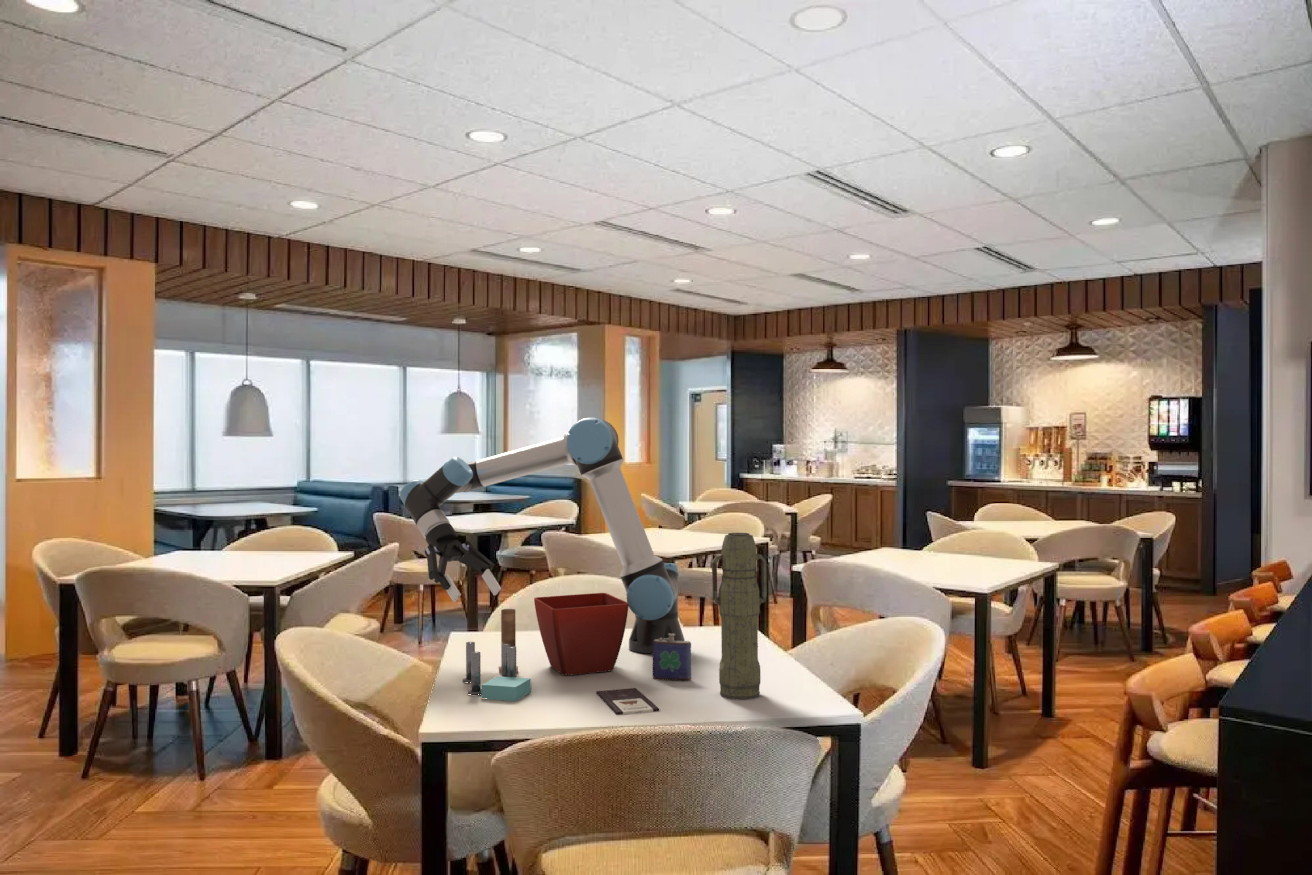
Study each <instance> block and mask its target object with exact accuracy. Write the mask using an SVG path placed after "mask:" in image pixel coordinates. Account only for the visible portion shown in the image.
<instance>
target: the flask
mask: <svg viewBox="0 0 1312 875" xmlns="http://www.w3.org/2000/svg"><path fill="white" fill-rule="evenodd" d="M668 635H669V637H668V638H663V639H665V640H663V639H662V638H660V639H656V640H654V641H653V653H652V679H653V680H656V681H657V680H658V681H672V682H674V681H675V682H690V681H691V680H692V653H691V652H692V642H691V641H690V640H685V641H674V636H675V634H673V633H672V634H671V633H670V634H668Z"/></svg>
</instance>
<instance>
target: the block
mask: <svg viewBox="0 0 1312 875" xmlns="http://www.w3.org/2000/svg"><path fill="white" fill-rule="evenodd" d="M531 684H532V679H531V678H530V677H529V678H528V677H517V676H516V677H502V675H501V676H500V675H499V676H498V675H497V676H495V677H494V678H493V677H492V678H491V679H490V680H488V681H486V682H484V683H482V684H481V695H480V696H481V698H487V699H486V700H493V699H495V701H507V702H516V701H518V700H520V699H522V698H524V697H525V696H527V695H529V694H530V693H531V692H532V691H531V690H532V685H531Z"/></svg>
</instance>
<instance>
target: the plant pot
mask: <svg viewBox="0 0 1312 875" xmlns="http://www.w3.org/2000/svg"><path fill="white" fill-rule="evenodd" d="M533 599H534V606H535V607H534V608H535V615H536V620H537V625H538V628H539V632H540V633H539V634H540V636H541V639H542V643H543V647H544V651H545V653H546V657H547V660H548V663H549V664H550V666H551V667H552V668H553V669H554V670H556V672H558V673H560V674H561V675H562V676H575V675H577V676H578V675H584V674H595V673H596V674H597V673H604V672H605V673H606V672H612V671H613V670H614V669H615V665H616V663H617V661H618V659H619V658H618V657H619V654H620V650H621V647H622V644H623V640H624V636H625V632H626V627H627V626H626V625H627V622H628V621H627V619H628V614H629V603H627V601H625V600H624V599H623V600H622V599H620V598H618V597H616V596H615V595H611V594H609V593H607V592H594V593H593V592H592V593H580V594H565V595H551V596H539V597H534V598H533Z"/></svg>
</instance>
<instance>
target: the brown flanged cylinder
mask: <svg viewBox="0 0 1312 875" xmlns="http://www.w3.org/2000/svg"><path fill="white" fill-rule="evenodd" d="M500 613H501V614H500V616H501V617H500V622H501V623H500V627H501V631H500V633H501V634H500V637H501V638H500V640H501V641H500V649H501V650H500V651H501V653H500V654H501V655H500V656H501V660H500V662H501V664H500V665H501V666H498V674H501V675H502V644H510V646H515V647H516V648H517V646H516V644H517V643H516V635H517V634H516V609H515V608H503V609H500ZM517 672H518V673H519V666H518V665H516V674H517Z"/></svg>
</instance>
